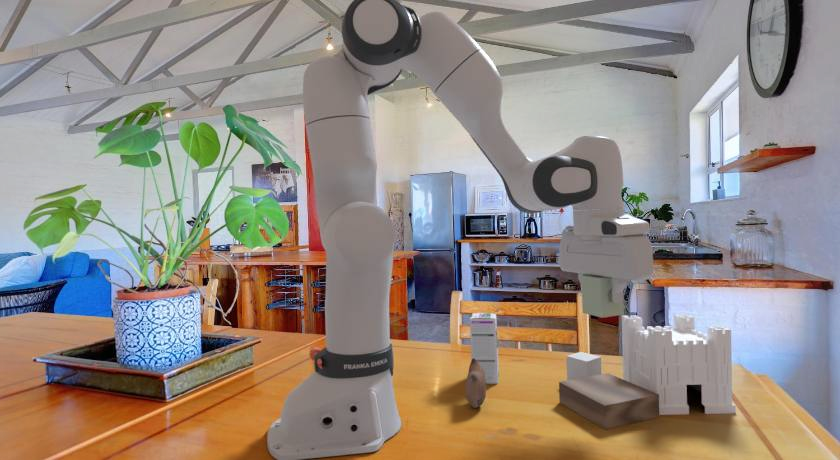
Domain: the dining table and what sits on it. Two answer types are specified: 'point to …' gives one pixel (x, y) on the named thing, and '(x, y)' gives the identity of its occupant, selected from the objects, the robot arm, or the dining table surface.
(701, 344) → the castle model
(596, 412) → the walnut block
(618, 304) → the green block
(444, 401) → the dining table surface
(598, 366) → the grey block
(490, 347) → the syrup box
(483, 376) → the brown tapered rounded piece
